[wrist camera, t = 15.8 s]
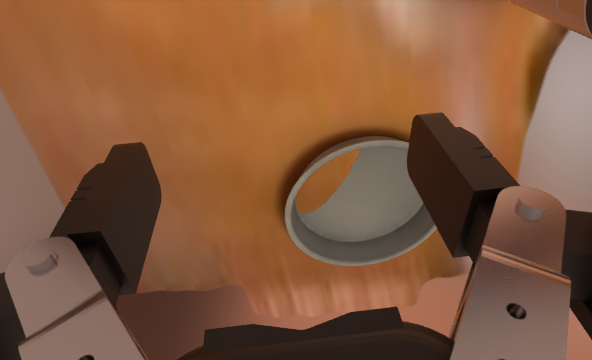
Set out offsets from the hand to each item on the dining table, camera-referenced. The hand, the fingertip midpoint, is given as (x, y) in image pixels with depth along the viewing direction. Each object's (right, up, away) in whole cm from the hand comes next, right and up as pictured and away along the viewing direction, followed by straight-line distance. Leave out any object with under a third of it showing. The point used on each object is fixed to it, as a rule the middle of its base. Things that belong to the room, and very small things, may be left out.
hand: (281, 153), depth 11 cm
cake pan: (+11, -3, +47) cm, 48 cm away
